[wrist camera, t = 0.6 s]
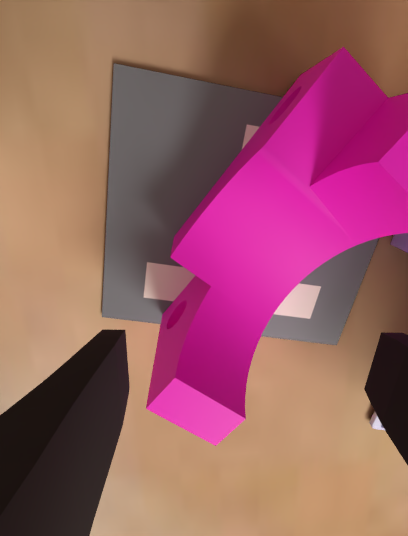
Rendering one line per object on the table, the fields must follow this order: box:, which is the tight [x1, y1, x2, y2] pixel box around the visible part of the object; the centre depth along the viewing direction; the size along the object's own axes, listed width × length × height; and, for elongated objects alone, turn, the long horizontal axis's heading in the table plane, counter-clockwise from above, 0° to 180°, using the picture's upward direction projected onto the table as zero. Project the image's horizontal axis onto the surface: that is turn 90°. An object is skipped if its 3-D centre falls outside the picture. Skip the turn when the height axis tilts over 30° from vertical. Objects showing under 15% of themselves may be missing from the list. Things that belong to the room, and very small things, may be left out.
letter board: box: [102, 63, 379, 345], centre depth 18 cm, size 16×14×1 cm
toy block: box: [146, 47, 408, 446], centre depth 14 cm, size 15×6×8 cm, turn 141°
